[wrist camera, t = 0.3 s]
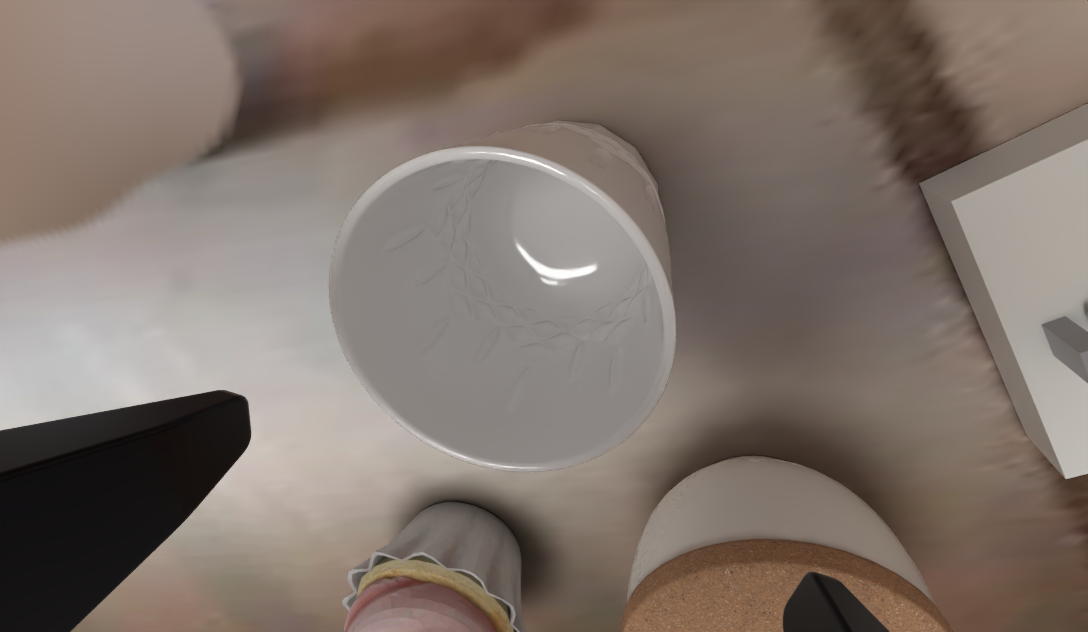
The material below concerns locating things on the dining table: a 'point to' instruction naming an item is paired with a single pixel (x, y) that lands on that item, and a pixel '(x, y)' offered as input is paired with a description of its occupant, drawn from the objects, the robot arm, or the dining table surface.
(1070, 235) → the switch console
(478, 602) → the cupcake
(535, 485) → the dining table surface
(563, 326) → the white cup
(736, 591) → the lidded jar
